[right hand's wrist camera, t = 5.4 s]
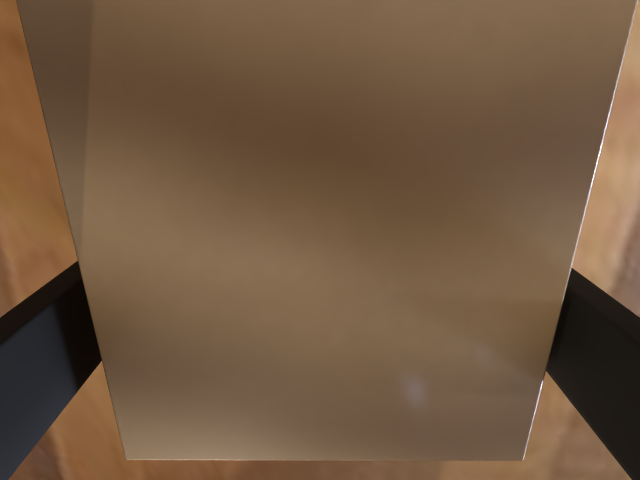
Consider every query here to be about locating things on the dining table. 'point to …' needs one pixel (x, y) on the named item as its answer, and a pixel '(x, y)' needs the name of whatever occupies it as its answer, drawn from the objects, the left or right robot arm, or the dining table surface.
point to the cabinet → (326, 213)
